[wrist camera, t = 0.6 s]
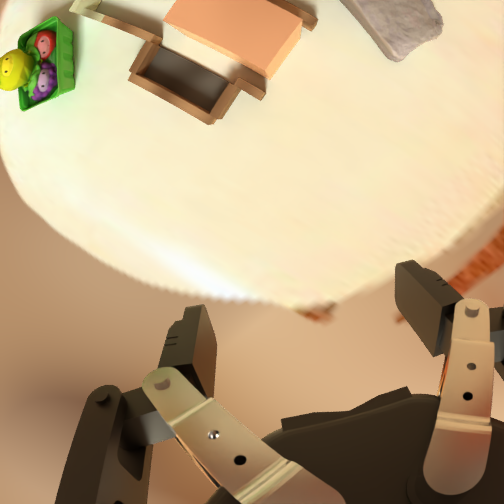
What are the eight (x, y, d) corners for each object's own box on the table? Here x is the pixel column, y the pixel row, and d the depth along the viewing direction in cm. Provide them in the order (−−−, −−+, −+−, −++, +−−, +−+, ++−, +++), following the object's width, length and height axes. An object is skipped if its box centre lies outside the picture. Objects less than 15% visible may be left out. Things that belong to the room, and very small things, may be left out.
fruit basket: (83, 95, 32) (23, 97, 22) (38, 112, 34) (-20, 121, 23) (80, 20, 28) (24, 5, 18) (35, 43, 29) (-20, 38, 19)
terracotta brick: (299, 39, 28) (302, 19, 21) (270, 80, 30) (264, 70, 23) (215, -4, 26) (198, -28, 20) (187, 36, 29) (162, 20, 22)
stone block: (376, -35, 23) (319, -11, 25) (393, -51, 19) (331, -30, 20) (435, 38, 27) (385, 69, 28) (458, 30, 22) (407, 60, 24)
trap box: (339, -4, 25) (342, -12, 22) (236, 138, 33) (232, 139, 31) (158, -74, 21) (151, -81, 19) (73, 50, 30) (61, 48, 27)
